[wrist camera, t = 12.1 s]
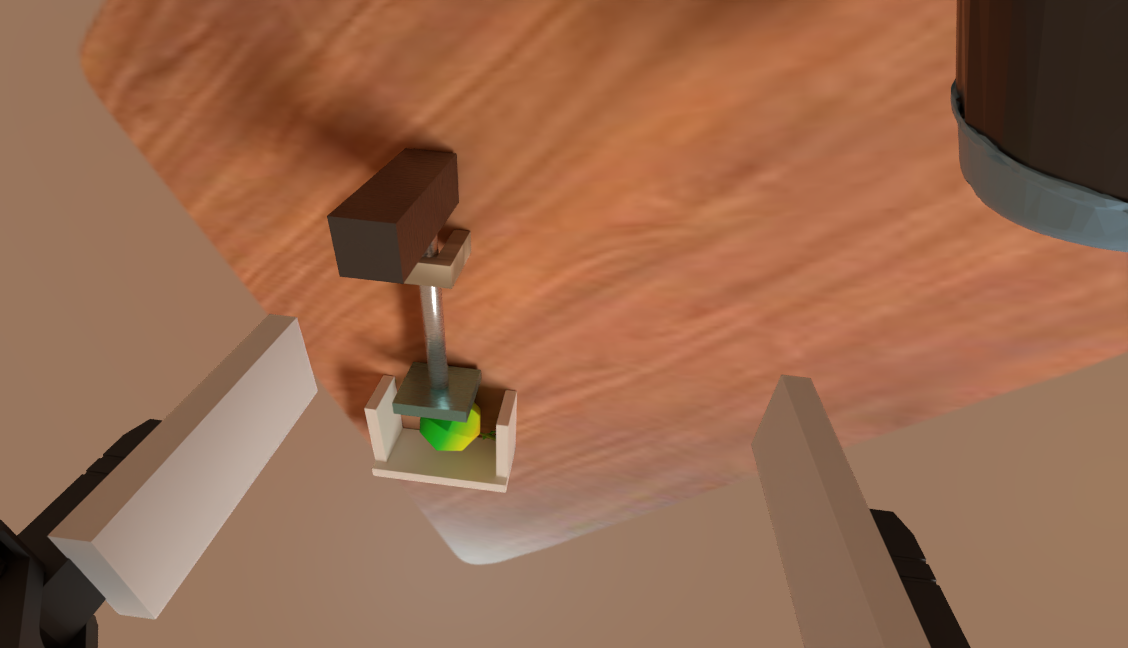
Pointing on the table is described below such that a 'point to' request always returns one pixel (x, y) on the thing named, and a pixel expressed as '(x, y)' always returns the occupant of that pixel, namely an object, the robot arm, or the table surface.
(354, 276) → the piston
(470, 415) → the apple
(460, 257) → the bearing block
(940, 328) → the table surface
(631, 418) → the table surface
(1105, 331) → the table surface
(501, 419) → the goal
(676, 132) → the table surface
